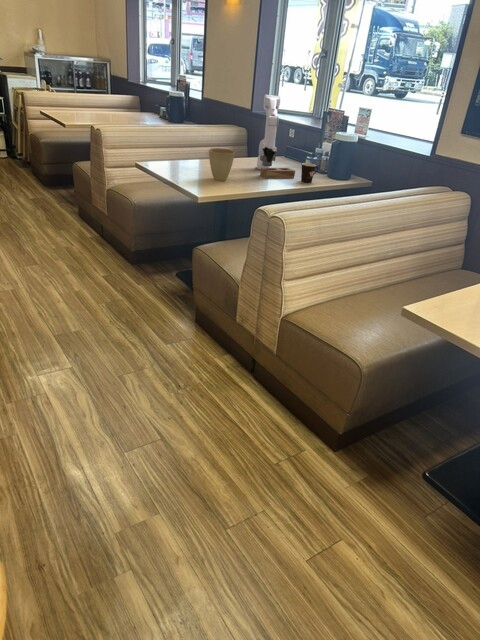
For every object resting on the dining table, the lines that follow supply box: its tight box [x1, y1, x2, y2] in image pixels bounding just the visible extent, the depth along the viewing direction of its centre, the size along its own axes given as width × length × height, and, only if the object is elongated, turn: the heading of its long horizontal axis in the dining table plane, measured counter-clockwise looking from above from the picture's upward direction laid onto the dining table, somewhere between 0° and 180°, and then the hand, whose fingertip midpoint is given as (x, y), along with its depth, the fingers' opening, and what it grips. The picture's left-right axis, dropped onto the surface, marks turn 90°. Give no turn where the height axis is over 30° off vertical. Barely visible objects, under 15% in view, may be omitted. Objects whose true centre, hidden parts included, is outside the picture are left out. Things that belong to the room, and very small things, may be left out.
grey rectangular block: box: [259, 154, 276, 167], centre depth 285 cm, size 3×9×6 cm, turn 114°
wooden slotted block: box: [259, 167, 296, 179], centre depth 291 cm, size 8×20×4 cm, turn 115°
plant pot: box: [208, 147, 236, 182], centre depth 268 cm, size 15×15×16 cm
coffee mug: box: [300, 162, 319, 184], centre depth 286 cm, size 12×9×10 cm
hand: (267, 161), depth 286 cm, fingers closed on grey rectangular block, 3 cm apart
